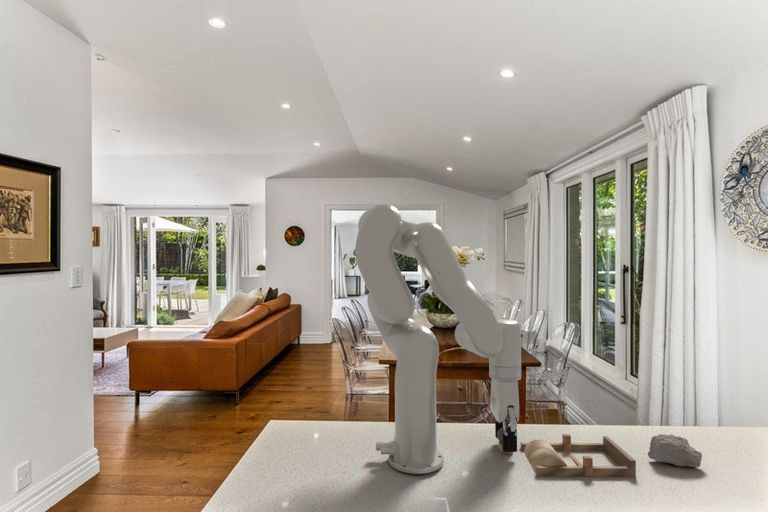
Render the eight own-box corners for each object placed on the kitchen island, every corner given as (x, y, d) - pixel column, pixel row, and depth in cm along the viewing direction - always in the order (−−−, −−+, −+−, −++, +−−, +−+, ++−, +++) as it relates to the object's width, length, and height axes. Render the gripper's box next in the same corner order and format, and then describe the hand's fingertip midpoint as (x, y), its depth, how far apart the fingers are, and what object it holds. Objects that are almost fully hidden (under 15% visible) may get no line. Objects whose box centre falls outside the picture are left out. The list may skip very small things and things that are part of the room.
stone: (708, 470, 98) (709, 443, 98) (666, 471, 97) (667, 443, 97) (680, 455, 106) (680, 430, 106) (641, 455, 105) (642, 430, 105)
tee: (501, 455, 106) (501, 445, 106) (498, 450, 109) (498, 440, 109) (513, 455, 106) (512, 445, 106) (510, 450, 109) (510, 440, 109)
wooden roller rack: (537, 499, 96) (537, 457, 96) (520, 470, 109) (520, 433, 109) (636, 500, 95) (636, 458, 95) (607, 470, 108) (606, 434, 108)
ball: (499, 447, 106) (499, 430, 106) (495, 440, 110) (495, 424, 110) (516, 447, 106) (516, 430, 106) (511, 440, 110) (511, 424, 110)
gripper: (482, 362, 116) (483, 430, 116) (497, 381, 99) (498, 460, 99) (511, 362, 116) (512, 430, 116) (531, 381, 99) (532, 460, 99)
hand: (505, 443), depth 108 cm, fingers open, 7 cm apart
